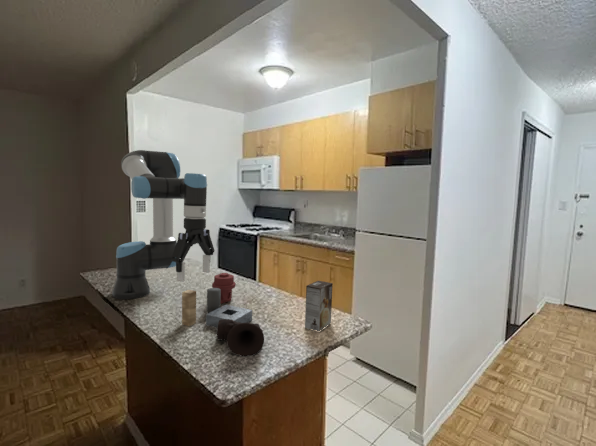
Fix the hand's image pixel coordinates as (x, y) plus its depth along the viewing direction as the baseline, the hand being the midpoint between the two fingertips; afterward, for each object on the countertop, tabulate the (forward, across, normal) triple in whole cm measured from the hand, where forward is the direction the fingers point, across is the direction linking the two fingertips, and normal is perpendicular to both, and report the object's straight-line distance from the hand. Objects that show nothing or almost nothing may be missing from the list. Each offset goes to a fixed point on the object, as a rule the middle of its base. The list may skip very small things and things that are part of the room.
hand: (193, 276), depth 121 cm
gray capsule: (+18, +12, 0) cm, 22 cm away
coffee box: (+17, +19, -42) cm, 49 cm away
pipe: (+17, -7, -24) cm, 31 cm away
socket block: (+17, +6, -12) cm, 22 cm away
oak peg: (+17, -2, +1) cm, 17 cm away
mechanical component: (+18, +25, +4) cm, 31 cm away
